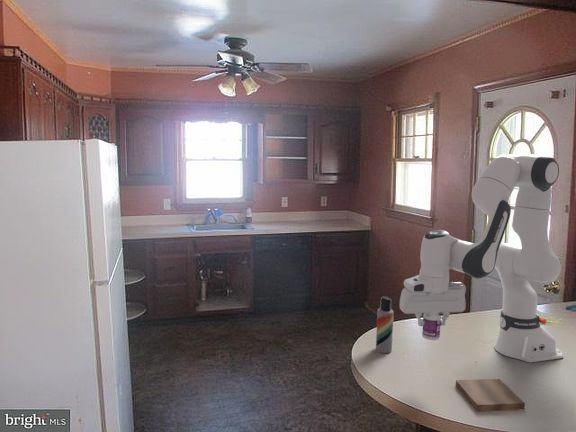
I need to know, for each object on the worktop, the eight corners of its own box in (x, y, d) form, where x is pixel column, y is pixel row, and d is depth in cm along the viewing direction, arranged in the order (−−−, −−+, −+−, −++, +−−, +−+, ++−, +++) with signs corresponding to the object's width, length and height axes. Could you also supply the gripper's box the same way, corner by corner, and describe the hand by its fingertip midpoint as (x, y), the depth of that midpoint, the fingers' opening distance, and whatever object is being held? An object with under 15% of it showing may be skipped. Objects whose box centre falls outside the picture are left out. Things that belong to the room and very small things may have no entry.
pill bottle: (440, 341, 148) (442, 311, 146) (422, 340, 149) (424, 310, 147) (438, 334, 153) (440, 305, 151) (421, 333, 154) (422, 304, 152)
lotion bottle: (374, 346, 176) (376, 294, 173) (389, 346, 177) (391, 294, 174) (378, 353, 171) (380, 300, 168) (393, 353, 171) (396, 299, 168)
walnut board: (498, 384, 150) (499, 378, 150) (524, 409, 136) (524, 403, 136) (455, 386, 149) (456, 380, 148) (477, 411, 135) (477, 405, 135)
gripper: (461, 279, 152) (458, 320, 154) (398, 280, 150) (397, 322, 152) (470, 285, 146) (467, 328, 148) (405, 286, 144) (403, 330, 146)
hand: (431, 325), depth 150 cm, fingers closed on pill bottle, 5 cm apart
